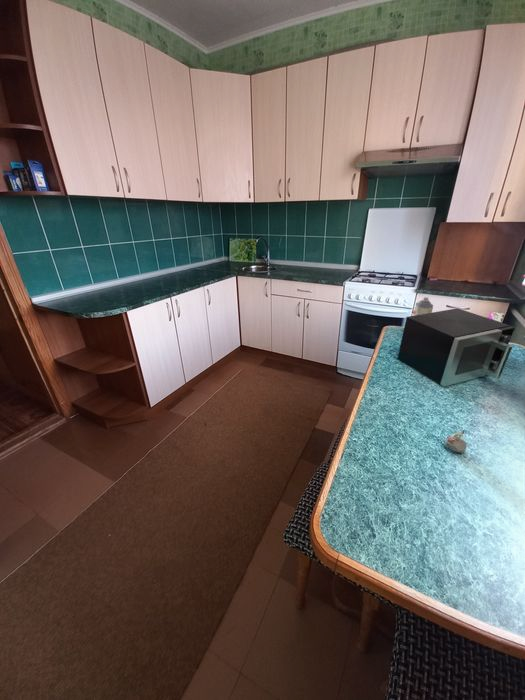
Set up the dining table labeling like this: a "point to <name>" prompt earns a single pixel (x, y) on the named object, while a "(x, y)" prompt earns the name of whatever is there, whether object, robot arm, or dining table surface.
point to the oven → (443, 339)
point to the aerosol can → (423, 307)
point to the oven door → (474, 357)
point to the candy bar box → (496, 316)
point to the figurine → (456, 443)
